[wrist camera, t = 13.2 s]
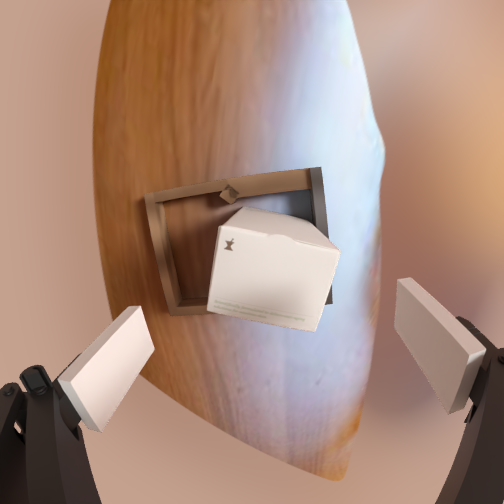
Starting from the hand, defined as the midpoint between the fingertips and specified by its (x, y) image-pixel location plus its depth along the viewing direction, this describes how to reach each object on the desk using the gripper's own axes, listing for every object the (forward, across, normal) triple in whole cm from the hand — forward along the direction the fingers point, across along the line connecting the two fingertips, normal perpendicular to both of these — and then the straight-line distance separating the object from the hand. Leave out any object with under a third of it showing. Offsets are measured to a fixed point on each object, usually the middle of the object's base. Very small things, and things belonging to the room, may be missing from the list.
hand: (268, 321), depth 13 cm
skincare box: (+21, 0, 0) cm, 21 cm away
